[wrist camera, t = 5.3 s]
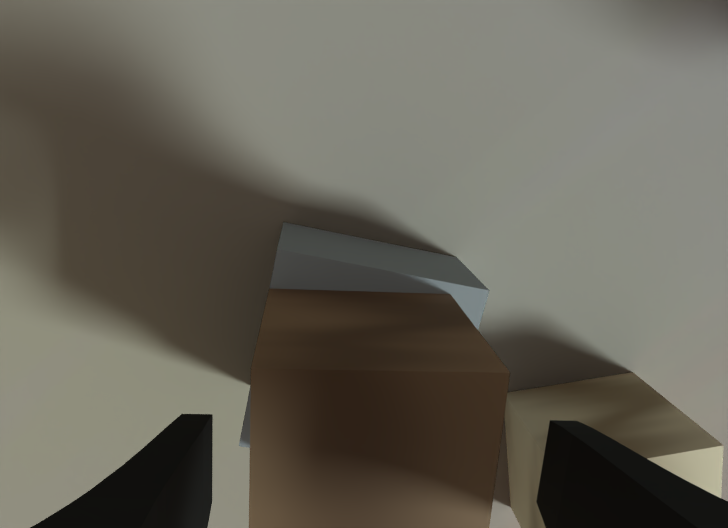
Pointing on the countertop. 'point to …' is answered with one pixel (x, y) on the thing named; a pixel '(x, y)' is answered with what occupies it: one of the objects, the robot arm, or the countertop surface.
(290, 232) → the grey base block
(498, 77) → the countertop surface
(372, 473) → the walnut cube
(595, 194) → the countertop surface
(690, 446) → the maple cube
